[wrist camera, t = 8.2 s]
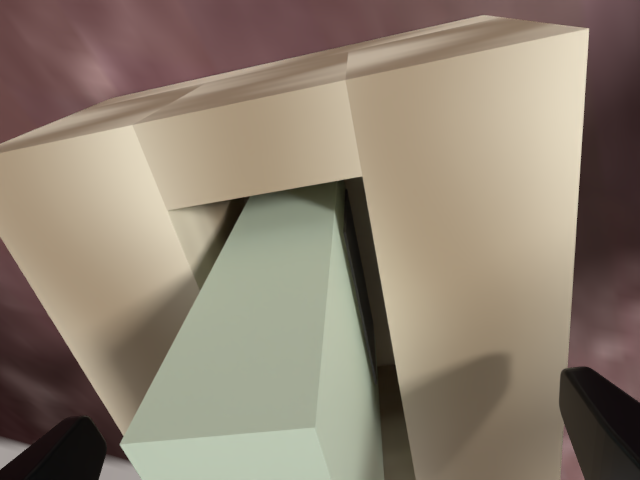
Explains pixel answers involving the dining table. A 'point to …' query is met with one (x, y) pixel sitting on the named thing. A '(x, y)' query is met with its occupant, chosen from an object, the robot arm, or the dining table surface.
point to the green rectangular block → (271, 356)
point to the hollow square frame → (368, 215)
